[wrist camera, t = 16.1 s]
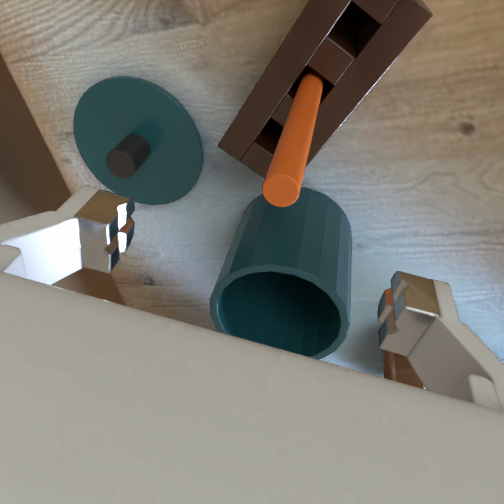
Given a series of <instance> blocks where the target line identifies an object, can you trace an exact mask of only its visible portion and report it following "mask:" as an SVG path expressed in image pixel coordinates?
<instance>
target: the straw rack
mask: <svg viewBox="0 0 504 504" xmlns="http://www.w3.org/2000/svg"><path fill="white" fill-rule="evenodd" d="M352 1H353V2H354V3H355V4H356V5H357V6H359V7H360V8H361V9H362V10H364V11H365V12H366V13H367V14H368V15H370V16H371V17H370V18H369V19H368V21H367V22H366V23H365V25H364V26H363V27H362V29H361V30H360V32H359V33H358V34H357V36H356V35H355V34H354V33H352V32H351V31H350V30H349V29H347V28H346V27H345V26H344V25H342V24H341V23H340V22H339V21H338V19H339V18H340V16H341V15H342V13H343V12H344V10H345V9H346V8H347V6H348V5H349V3H350V2H351V0H309V2H308V3H307V5H306V6H305V8H304V10H303V11H302V13H301V14H300V16H299V18H298V19H297V21H296V22H295V24H294V26H293V27H292V29H291V30H290V32H289V33H288V35H287V37H286V38H285V40H284V41H283V43H282V45H281V46H280V48H279V49H278V51H277V52H276V54H275V56H274V57H273V59H272V60H271V62H270V64H269V65H268V67H267V68H266V70H265V71H264V73H263V75H262V76H261V78H260V79H259V81H258V83H257V84H256V86H255V87H254V89H253V90H252V92H251V94H250V95H249V97H248V98H247V100H246V102H245V103H244V105H243V106H242V108H241V109H240V111H239V113H238V114H237V116H236V117H235V119H234V121H233V122H232V124H231V125H230V127H229V129H228V130H227V132H226V133H225V135H224V137H223V138H222V140H221V141H220V143H219V144H218V147H219V148H221V149H222V150H224V151H225V152H227V153H228V154H230V155H231V156H233V157H234V158H236V159H237V160H239V161H240V162H241V163H243V164H244V165H246V166H247V167H249V168H250V169H252V170H253V171H255V172H256V173H258V174H259V175H261V176H262V177H264V178H265V177H266V175H267V172H268V169H269V167H270V164H271V161H272V158H273V156H274V153H275V150H276V147H277V145H278V142H279V139H280V137H281V134H282V131H283V128H284V126H285V123H286V120H287V118H288V115H289V112H290V109H291V107H292V104H293V101H294V98H295V96H296V93H297V90H298V88H299V85H300V82H301V79H302V77H303V74H304V71H303V70H304V68H305V67H306V65H307V64H308V66H310V67H311V68H312V69H314V70H315V71H316V72H318V73H319V74H320V75H322V76H323V77H324V78H325V81H324V85H323V90H322V94H321V99H320V103H319V108H318V112H317V117H316V121H315V126H314V130H313V135H312V139H311V144H310V148H309V153H308V157H307V162H306V166H307V165H308V164H309V163H310V162H311V160H312V159H313V158H314V157H315V156H316V155H317V153H318V152H319V151H320V150H321V149H322V147H323V146H324V145H325V144H326V143H327V141H328V140H329V139H330V138H331V137H332V135H333V134H334V133H335V132H336V131H337V129H338V128H339V127H340V126H341V125H342V123H343V122H344V121H345V120H346V119H347V117H348V116H349V115H350V114H351V113H352V111H353V110H354V109H355V108H356V107H357V105H358V104H359V103H360V102H361V101H362V99H363V98H364V97H365V96H366V95H367V93H368V92H369V91H370V90H371V89H372V88H373V86H374V85H375V84H376V83H377V82H378V80H379V79H380V78H381V77H382V76H383V74H384V73H385V72H386V71H387V70H388V68H389V67H390V66H391V65H392V64H393V62H394V61H395V60H396V59H397V58H398V56H399V55H400V54H401V53H402V52H403V50H404V49H405V48H406V47H407V46H408V44H409V43H410V42H411V41H412V40H413V38H414V37H415V36H416V35H417V34H418V32H419V31H420V30H421V29H422V28H423V26H424V25H425V24H426V23H427V22H428V21H429V19H430V18H431V17H432V15H433V14H432V12H431V11H430V10H429V8H428V7H427V6H426V4H425V3H424V2H423V0H352ZM306 166H305V168H306Z"/></svg>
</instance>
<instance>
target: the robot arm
mask: <svg viewBox="0 0 504 504" xmlns="http://www.w3.org/2000/svg"><path fill="white" fill-rule="evenodd" d="M134 211H135V205H134V200H133V199H132V198H129V197H126V196H123V195H119V194H116V193H112V192H109V191H106V190H101V189H98V188H95V187H91V186H88V185H85V186H82V187H81V188H79V189H78V190H77V191H76V192H75V193H74V194H73V195H72V196H71V197H70V198H69V199H68V200H67V201H66V202H65V203H64V204H63V205H62V206H61V207H60V208H59V209H58V210H57V211H55V212H54V211H47V212H43V213H40V214H37V215H33V216H29V217H26V218H22V219H18V220H15V221H11V222H7V223H4V224H1V225H0V504H504V364H503V363H502V362H501V361H500V360H499V358H498V357H497V356H496V355H495V354H494V353H493V352H492V351H491V350H490V349H489V348H488V347H487V346H486V345H485V344H484V343H483V342H482V341H481V340H480V339H479V338H478V337H477V336H476V335H475V334H474V333H473V332H472V331H471V330H470V328H469V327H468V326H467V325H466V324H463V323H460V320H459V316H458V312H457V309H456V305H455V301H454V298H453V294H452V290H451V287H450V285H449V284H448V283H446V282H442V281H438V280H434V279H427V278H424V277H420V276H416V275H412V274H408V273H405V272H401V271H397V272H396V273H395V274H394V275H393V277H392V279H391V288H389V289H387V290H385V291H384V293H383V295H382V297H381V299H380V303H379V306H378V321H379V322H380V323H381V325H382V326H381V328H380V329H379V331H378V333H379V348H380V349H383V350H386V351H390V352H393V353H396V354H399V355H403V356H406V357H407V359H408V361H409V362H410V364H411V365H412V367H413V369H414V370H415V372H416V373H417V375H418V377H419V378H420V380H421V381H422V383H423V385H424V386H425V388H426V390H425V389H422V388H418V387H414V386H411V385H407V384H403V383H400V382H396V381H393V380H389V379H385V378H382V377H378V376H375V375H371V374H368V373H364V372H360V371H357V370H353V369H350V368H346V367H343V366H339V365H335V364H332V363H328V362H325V361H321V360H318V359H314V358H310V357H307V356H303V355H300V354H296V353H292V352H289V351H285V350H282V349H278V348H275V347H271V346H267V345H264V344H260V343H257V342H253V341H249V340H246V339H242V338H239V337H235V336H231V335H228V334H224V333H221V332H217V331H213V330H210V329H206V328H203V327H199V326H196V325H192V324H188V323H185V322H181V321H178V320H174V319H171V318H167V317H163V316H160V315H156V314H153V313H149V312H145V311H142V310H138V309H135V308H131V307H128V306H124V305H120V304H117V303H113V302H110V301H106V300H102V299H99V298H95V297H92V296H88V295H85V294H81V293H78V292H74V291H70V290H67V289H63V288H60V287H56V286H52V285H51V284H53V283H55V282H57V281H59V280H60V279H62V278H64V277H66V276H68V275H70V274H72V273H74V272H76V271H78V270H80V269H82V267H85V268H90V269H93V270H97V271H101V272H105V273H109V274H110V272H111V271H112V270H113V268H114V267H115V265H116V264H117V263H118V261H119V260H120V259H119V253H121V252H124V251H126V250H127V248H128V247H129V245H130V243H131V240H132V238H133V234H134V224H135V222H134V221H133V219H132V218H131V215H132V213H133V212H134Z"/></svg>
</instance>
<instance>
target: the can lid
mask: <svg viewBox="0 0 504 504" xmlns="http://www.w3.org/2000/svg"><path fill="white" fill-rule="evenodd" d="M74 135H75V140H76V144H77V147H78V149H79V152H80V154H81V156H82V158H83V160H84V162H85V163H86V165H87V166H88V168H89V169H90V171H91V172H92V173H93V174H94V175H95V177H96V178H97V179H98V180H99V181H100V182H101V183H103V184H104V185H105V186H106V187H107V188H109V189H110V190H112V191H113V192H115V193H116V194H119V195H123V196H126V197H129V198H132V199H133V200H134V202H137V203H142V204H149V205H160V204H166V203H170V202H173V201H175V200H178V199H179V198H181V197H183V196H184V195H185V194H186V193H188V192H189V191H190V190H191V188H192V187H193V186H194V184H195V183H196V181H197V179H198V177H199V175H200V172H201V168H202V163H203V149H202V143H201V138H200V135H199V132H198V129H197V127H196V125H195V123H194V121H193V119H192V118H191V116H190V115H189V113H188V112H187V111H186V109H185V108H184V107H183V106H182V104H181V103H180V102H179V101H178V100H177V99H176V98H175V97H173V96H172V95H171V94H170V93H168V92H167V91H166V90H164V89H163V88H161V87H159V86H158V85H156V84H153V83H151V82H149V81H146V80H143V79H140V78H135V77H129V76H118V77H111V78H107V79H104V80H102V81H100V82H98V83H96V84H95V85H93V86H92V87H90V88H89V89H88V90H87V91H86V92H85V93H84V94H83V96H82V97H81V99H80V100H79V102H78V105H77V107H76V111H75V114H74Z"/></svg>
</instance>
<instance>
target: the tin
mask: <svg viewBox="0 0 504 504" xmlns="http://www.w3.org/2000/svg"><path fill="white" fill-rule="evenodd" d="M384 378H385V379H389V380H393V381H396V382H400V383H403V384H407V385H411V386H414V387H418V388H422V389H424V388H423V383H422V381H421V380H420V378H419V377H418V375H417V373H416V372H415V370H414V369H413V367H412V365H411V364H410V362H409V361H408V359H407V357H406V356H403V355H399V354H396V353H393V352H390V351H386V350H384Z"/></svg>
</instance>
